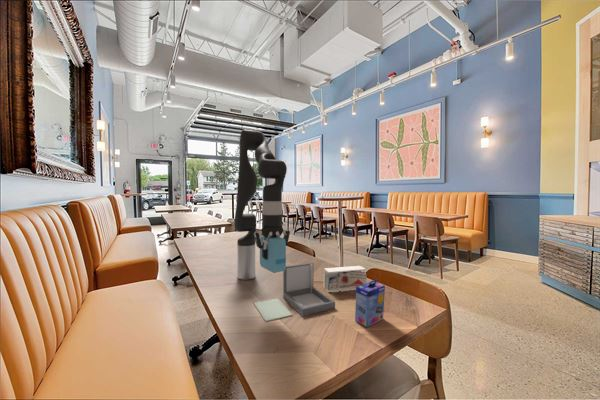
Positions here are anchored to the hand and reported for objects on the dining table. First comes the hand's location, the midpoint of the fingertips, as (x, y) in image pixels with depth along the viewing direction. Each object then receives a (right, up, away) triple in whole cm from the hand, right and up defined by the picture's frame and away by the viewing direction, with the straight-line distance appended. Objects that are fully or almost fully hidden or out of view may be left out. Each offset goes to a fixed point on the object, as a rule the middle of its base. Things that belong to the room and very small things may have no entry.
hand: (272, 258), depth 92 cm
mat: (0, -20, 0) cm, 20 cm away
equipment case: (+14, -19, +6) cm, 25 cm away
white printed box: (+32, -20, +22) cm, 43 cm away
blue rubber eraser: (0, -4, 0) cm, 4 cm away
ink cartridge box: (+35, -20, -7) cm, 41 cm away
